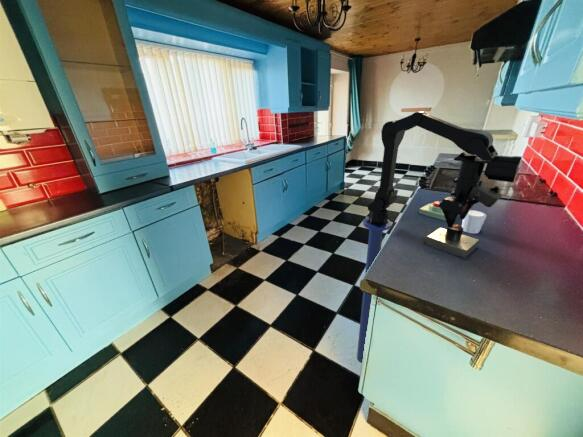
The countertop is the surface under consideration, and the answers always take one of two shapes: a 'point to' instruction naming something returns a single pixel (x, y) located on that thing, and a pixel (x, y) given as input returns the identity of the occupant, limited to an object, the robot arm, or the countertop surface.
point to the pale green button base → (432, 211)
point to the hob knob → (454, 233)
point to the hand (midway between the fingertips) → (456, 223)
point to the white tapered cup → (473, 221)
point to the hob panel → (452, 243)
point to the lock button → (436, 204)
